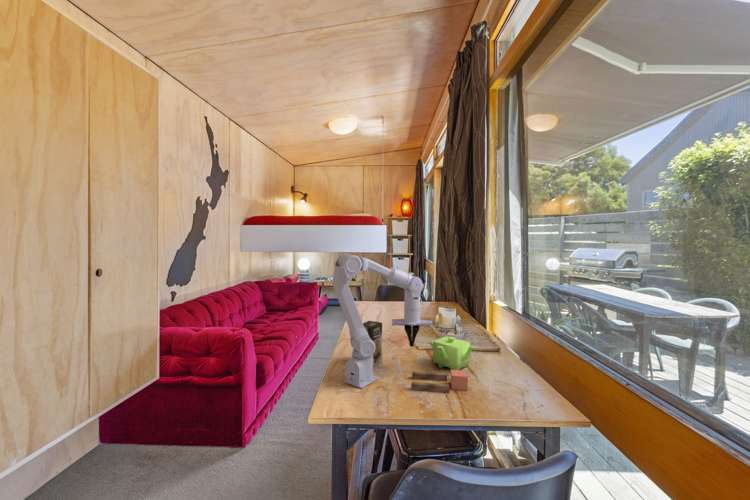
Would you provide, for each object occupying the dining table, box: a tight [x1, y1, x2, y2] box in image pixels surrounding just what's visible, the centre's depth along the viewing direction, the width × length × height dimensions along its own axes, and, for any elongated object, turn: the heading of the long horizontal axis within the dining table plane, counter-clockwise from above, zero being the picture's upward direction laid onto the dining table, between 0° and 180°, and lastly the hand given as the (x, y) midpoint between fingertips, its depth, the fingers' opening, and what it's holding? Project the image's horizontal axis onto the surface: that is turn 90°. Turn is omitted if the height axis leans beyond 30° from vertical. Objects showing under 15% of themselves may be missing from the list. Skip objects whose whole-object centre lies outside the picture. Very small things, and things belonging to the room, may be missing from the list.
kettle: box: [428, 335, 477, 371], centre depth 127 cm, size 15×14×11 cm
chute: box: [410, 370, 450, 394], centre depth 112 cm, size 12×10×2 cm
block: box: [450, 369, 469, 391], centre depth 111 cm, size 5×5×4 cm
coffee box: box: [362, 320, 383, 369], centre depth 128 cm, size 9×6×16 cm
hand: (411, 345), depth 122 cm, fingers closed
